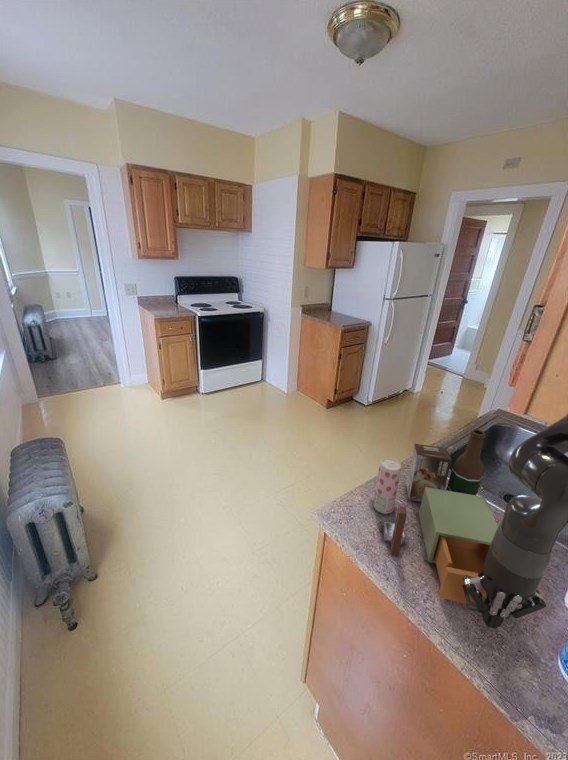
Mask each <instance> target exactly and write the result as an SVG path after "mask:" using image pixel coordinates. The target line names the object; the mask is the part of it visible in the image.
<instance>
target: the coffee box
mask: <svg viewBox="0 0 568 760" xmlns="http://www.w3.org/2000/svg"><path fill="white" fill-rule="evenodd" d="M452 461H453V460H452V457H451V455H450V452H449V451H448V449H447V447H442V446H435V445H427V444H422V443H421V444H420V443H414V446H413V451H412V456H411V462H410V467H409V472H408V477H407V483H406V490H407V495H408V500H409V501H413V502H420V503H422V498H423V494H424V490H425V487H428V488H434V489H440V490H446V487H447V483H448V482H447V481H448V477H449V473H450V469H451V465H452Z"/></svg>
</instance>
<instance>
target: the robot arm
mask: <svg viewBox="0 0 568 760" xmlns="http://www.w3.org/2000/svg"><path fill="white" fill-rule="evenodd" d="M566 454H568V412H567V413H566V415H564V416H563V417H562V418H560V419H559V420H557V421H555V422H554V423H551V424H550V425H548V426H547V427H545V428H544V429H542V430H541V431H539V432H537V433H535V434H534V435H532V436H530V437H529V438H527V439H525V440H524V441H522V442H521V443H520V444H518V445H517V446H516V447H515V448H514V450H513V451H512V452H511V454H510V456H509V460H508V469H509V472H510V474H511V476H513V478H514V479H517V480H518V481H519V482H520V483H521V484H522V485H523V486H525V487H526V488H528V489H529V490H530V491H531V492H532V493H533V494H535V495H536V496H537V497H538V498H537V497H534V496H531V495H526V494H519V495H514V496H513V497H511V498H510V500H508V502H507V504H506V506H505V509H504V512H503V515H502V517H501V520H500V522H499V524H498V526H499V527H498V528H497V530H496V532H495V534H494V537H493V540H492V541H491V545H490V548H489V551H488V554H487V556H486V559H485V563H484V569H483V570H482V571H480V572H479V573H478V577H475V578H470V576H468V575H464V576H463V580H464V583H465V586H466V589H467V591H468V593H469V594H470V596H471V597H472V598H473V600H474V601H475V603H476V604H477V606H478V607H479V608H480V610H483V611H482V613H481V617H482V620H483V623H484V624H485V626H486V627H487V628H488V629H493V630H498V628H499V627H501V626H502V624H503V622H504V620H505V618H507V617H508V615H509V616H511V617H512V618H514V619H519V618H522V617H524V616H528V615H530V614H532V613H535V612H537V611H540V610H542V609H546V607H547V604H546V602H545V600H544V597H543V595H542V594H541V592H540V591H539V590H538V589H539V585H540V583H541V582H542V579H543V577H544V575H545V572H546V570H547V568H548V566H549V563H550V561H551V557H552V552H553V550H554V548H555V545H556V543H557V541H558V539H559V537H560V534H561V532H563V530H564V529H565V528H566V527H567V526H568V455H566ZM539 498H540V499H539ZM481 585H482V587H483V588H484V590H485V591H486V597H483V595H482V593H481V592H480V591H479V590H480V586H481ZM520 605H521V607H519V608H517V606H520Z"/></svg>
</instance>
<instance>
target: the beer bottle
mask: <svg viewBox="0 0 568 760" xmlns="http://www.w3.org/2000/svg"><path fill="white" fill-rule="evenodd" d="M469 435H470V436H469V439H468V440H467V441H468V442H467V443H466V444H467V445H466V447H465V450H464V452H463V453H462V454H460V455H459V456H458V458H456V460H455V461H454V462H453V465H452V466H451V471H450V474H449V478H448V480H447V481H448V482H447V484H446V488H445V490H446V491H452V492H458V493H464V494H470V495H476V496H478V492H479V488H480V486H481V482H482V479H483V476H484V471H485V467H484V464H483V462H482V460H481V454H482V449H483V445H484V441H485V440H484V439H485V438H487V435H486V433H485V432H484V431H483V430H480V429H472V430H471V432H469Z"/></svg>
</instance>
